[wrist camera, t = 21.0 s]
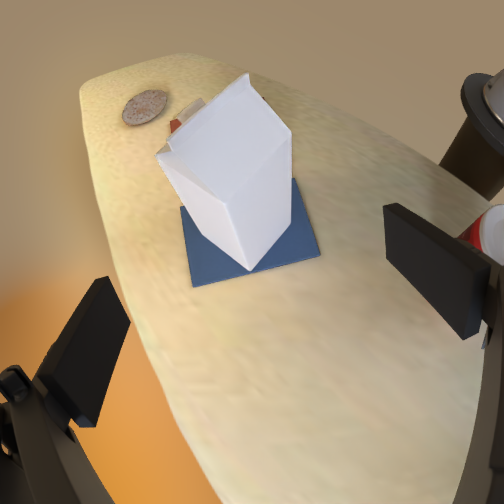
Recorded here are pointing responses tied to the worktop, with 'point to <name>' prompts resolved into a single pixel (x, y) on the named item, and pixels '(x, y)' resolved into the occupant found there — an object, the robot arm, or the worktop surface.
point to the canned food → (488, 233)
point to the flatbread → (144, 107)
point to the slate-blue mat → (281, 253)
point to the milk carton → (233, 170)
